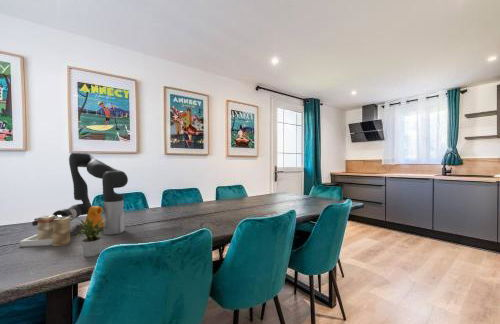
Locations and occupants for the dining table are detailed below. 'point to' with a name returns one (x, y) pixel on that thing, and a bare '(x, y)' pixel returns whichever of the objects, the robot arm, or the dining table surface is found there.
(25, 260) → the dining table surface
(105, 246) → the dining table surface
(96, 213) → the bracket
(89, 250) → the house plant
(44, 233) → the maple post
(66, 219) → the oak post
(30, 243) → the tray
